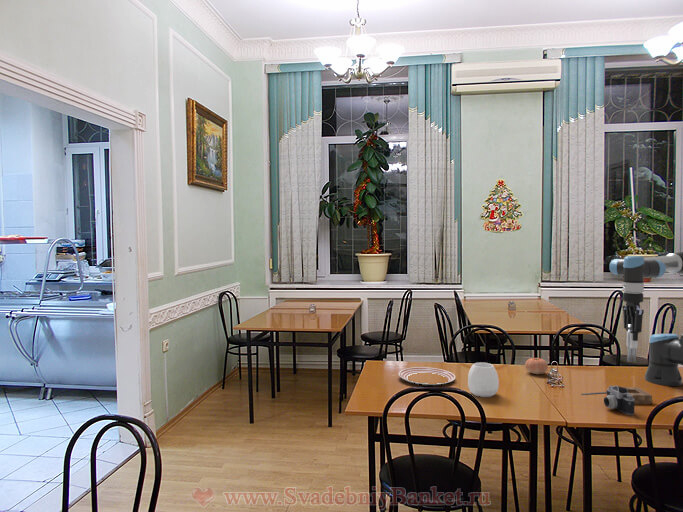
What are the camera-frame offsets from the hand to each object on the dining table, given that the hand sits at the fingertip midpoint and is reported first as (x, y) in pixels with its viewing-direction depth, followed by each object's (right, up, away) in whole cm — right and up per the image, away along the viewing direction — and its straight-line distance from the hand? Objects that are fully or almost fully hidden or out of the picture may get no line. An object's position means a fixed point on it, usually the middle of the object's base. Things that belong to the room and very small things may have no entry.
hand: (632, 347), depth 212 cm
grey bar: (0, -6, 0) cm, 6 cm away
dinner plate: (-82, -23, +32) cm, 91 cm away
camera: (-13, -24, -11) cm, 29 cm away
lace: (-11, -22, +9) cm, 27 cm away
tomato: (-24, -21, +42) cm, 53 cm away
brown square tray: (0, -23, +1) cm, 23 cm away
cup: (-61, -23, +9) cm, 66 cm away
